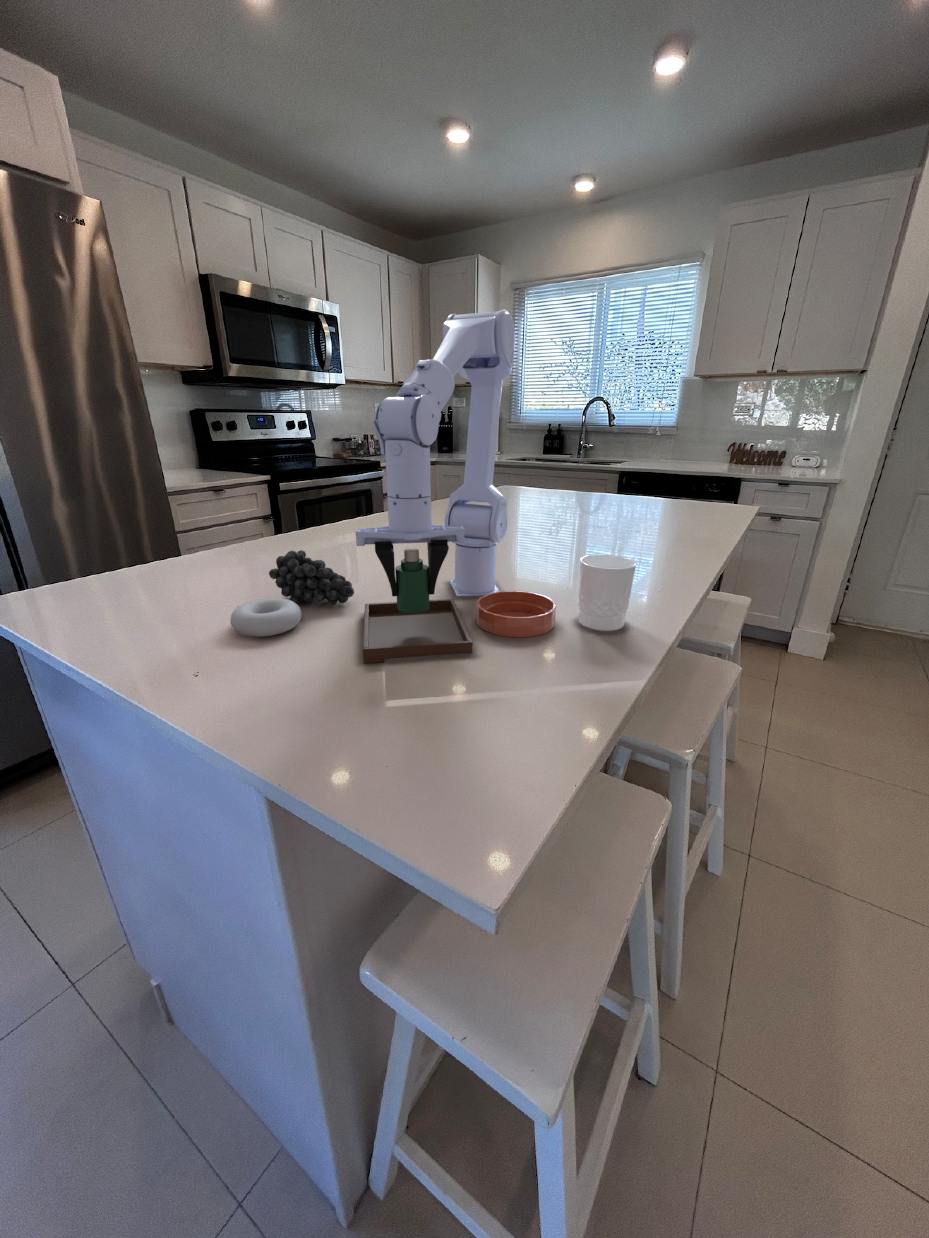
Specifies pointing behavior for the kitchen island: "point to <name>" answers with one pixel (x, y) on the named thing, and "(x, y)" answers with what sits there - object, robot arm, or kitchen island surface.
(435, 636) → the tray
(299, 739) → the kitchen island surface
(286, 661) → the kitchen island surface
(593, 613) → the white cup
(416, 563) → the bottle
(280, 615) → the donut
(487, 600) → the bowl
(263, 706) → the kitchen island surface
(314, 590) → the fruit
